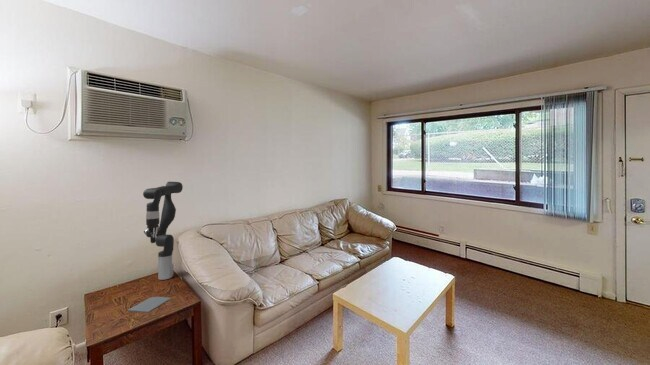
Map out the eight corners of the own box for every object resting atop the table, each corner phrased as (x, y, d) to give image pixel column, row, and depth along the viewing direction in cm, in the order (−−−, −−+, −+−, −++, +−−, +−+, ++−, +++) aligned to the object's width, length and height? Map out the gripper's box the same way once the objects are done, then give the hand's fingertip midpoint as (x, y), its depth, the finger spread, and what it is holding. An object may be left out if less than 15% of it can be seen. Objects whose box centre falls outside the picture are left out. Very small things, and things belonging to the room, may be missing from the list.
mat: (152, 297, 167) (152, 296, 167) (171, 298, 165) (171, 297, 165) (127, 311, 149) (127, 310, 149) (148, 312, 147) (148, 311, 147)
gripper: (155, 216, 180) (156, 240, 180) (139, 219, 167) (139, 245, 167) (165, 216, 179) (165, 240, 179) (149, 219, 166) (149, 245, 166)
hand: (153, 242), depth 173 cm, fingers closed
